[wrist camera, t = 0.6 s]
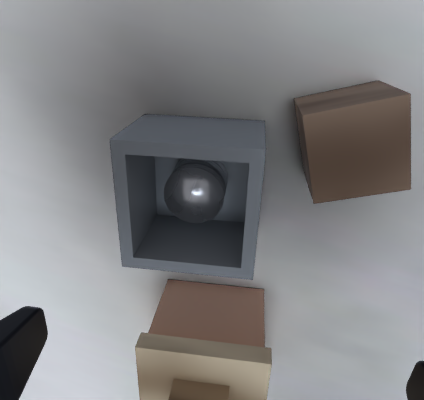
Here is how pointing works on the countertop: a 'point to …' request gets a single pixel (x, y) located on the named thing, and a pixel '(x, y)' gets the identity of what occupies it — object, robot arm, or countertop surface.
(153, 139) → the grey open square bin
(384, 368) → the countertop surface
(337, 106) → the walnut block
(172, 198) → the dark grey round piece
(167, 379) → the lid
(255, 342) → the pot
